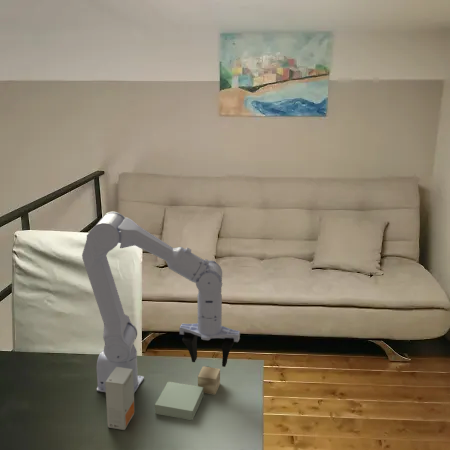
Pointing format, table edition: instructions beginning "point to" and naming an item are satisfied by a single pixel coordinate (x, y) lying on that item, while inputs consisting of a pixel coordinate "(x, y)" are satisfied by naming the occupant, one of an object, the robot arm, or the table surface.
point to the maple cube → (209, 379)
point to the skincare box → (120, 398)
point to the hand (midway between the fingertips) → (209, 362)
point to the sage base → (179, 400)
